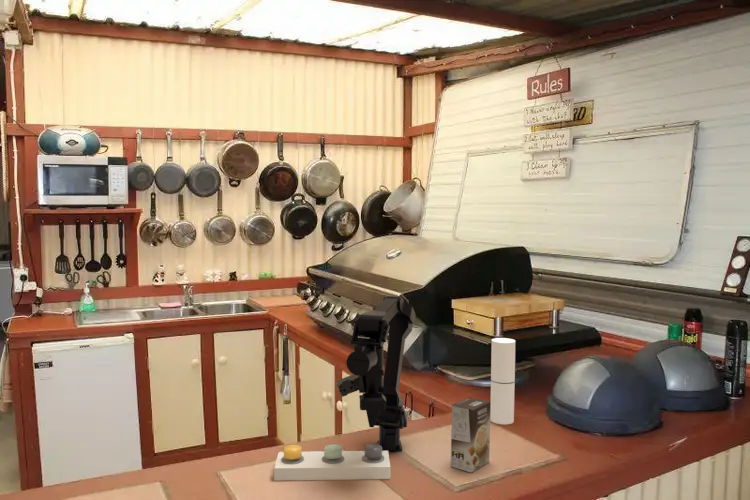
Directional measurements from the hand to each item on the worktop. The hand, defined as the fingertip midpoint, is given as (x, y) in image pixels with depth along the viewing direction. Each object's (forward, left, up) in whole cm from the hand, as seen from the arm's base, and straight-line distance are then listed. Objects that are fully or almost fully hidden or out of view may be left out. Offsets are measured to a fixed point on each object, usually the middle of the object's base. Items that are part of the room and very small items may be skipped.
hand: (371, 426), depth 154 cm
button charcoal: (0, 0, -7) cm, 8 cm away
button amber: (0, -20, -8) cm, 21 cm away
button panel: (0, -10, -11) cm, 15 cm away
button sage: (0, -10, -7) cm, 12 cm away
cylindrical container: (-35, +41, -11) cm, 55 cm away
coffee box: (-3, +25, -11) cm, 28 cm away
